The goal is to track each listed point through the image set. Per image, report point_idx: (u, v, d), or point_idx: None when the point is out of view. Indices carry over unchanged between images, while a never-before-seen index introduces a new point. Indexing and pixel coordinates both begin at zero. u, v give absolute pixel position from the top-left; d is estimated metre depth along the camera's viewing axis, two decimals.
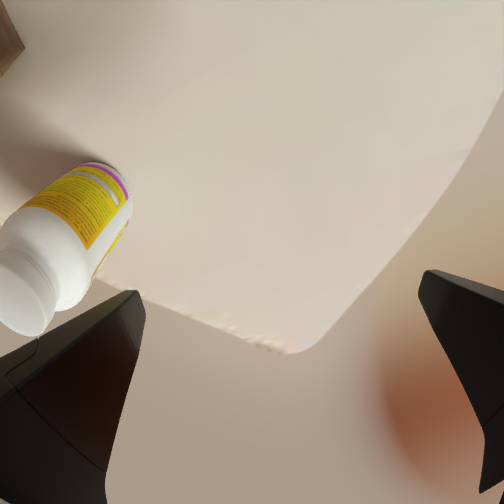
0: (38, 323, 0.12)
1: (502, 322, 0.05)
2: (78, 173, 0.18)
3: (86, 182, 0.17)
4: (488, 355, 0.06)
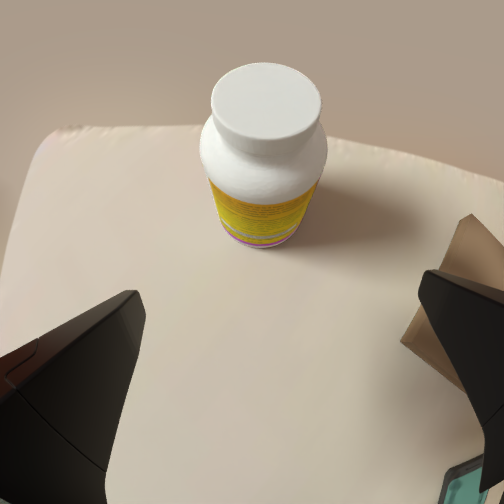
0: (222, 88, 0.12)
1: (502, 322, 0.05)
2: (272, 235, 0.20)
3: (255, 232, 0.19)
4: (488, 355, 0.06)
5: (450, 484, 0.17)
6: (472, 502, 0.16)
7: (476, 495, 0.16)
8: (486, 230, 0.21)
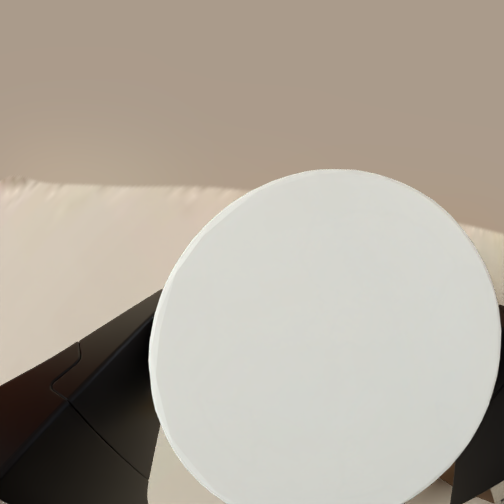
0: (187, 324, 0.03)
1: None
2: None
3: None
4: None
5: None
6: None
7: None
8: None
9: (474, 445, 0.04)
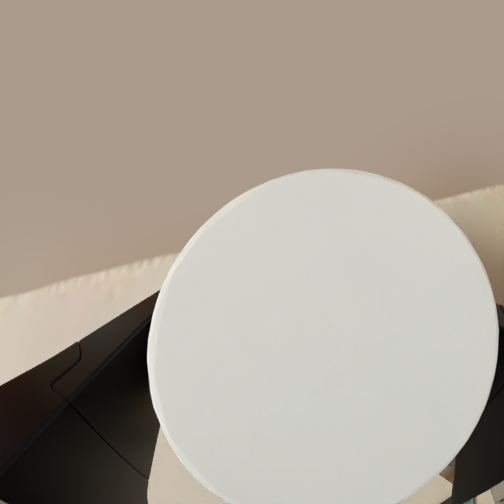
0: (186, 322, 0.03)
1: None
2: None
3: None
4: None
5: None
6: None
7: None
8: None
9: (475, 444, 0.04)
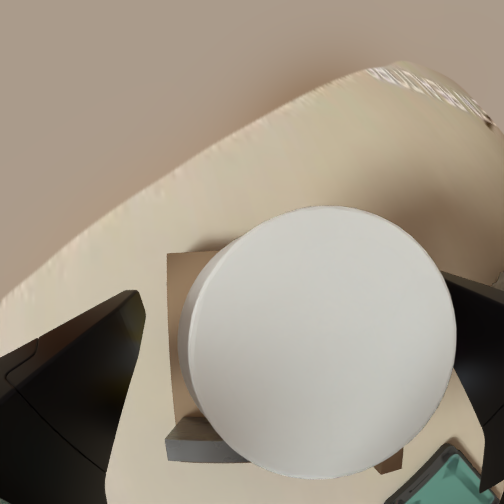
0: (217, 320, 0.04)
1: (502, 322, 0.05)
2: None
3: None
4: (488, 355, 0.06)
5: None
6: (458, 494, 0.14)
7: (457, 488, 0.14)
8: (202, 254, 0.18)
9: None
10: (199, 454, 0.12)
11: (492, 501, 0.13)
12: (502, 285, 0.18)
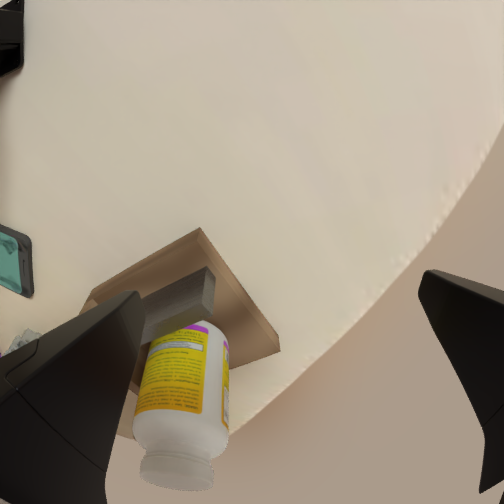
0: (204, 484, 0.14)
1: (502, 322, 0.05)
2: (154, 350, 0.21)
3: (164, 355, 0.20)
4: (488, 355, 0.06)
5: (14, 240, 0.21)
6: None
7: None
8: (257, 358, 0.27)
9: None
10: (185, 317, 0.18)
11: None
12: None
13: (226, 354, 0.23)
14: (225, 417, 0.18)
